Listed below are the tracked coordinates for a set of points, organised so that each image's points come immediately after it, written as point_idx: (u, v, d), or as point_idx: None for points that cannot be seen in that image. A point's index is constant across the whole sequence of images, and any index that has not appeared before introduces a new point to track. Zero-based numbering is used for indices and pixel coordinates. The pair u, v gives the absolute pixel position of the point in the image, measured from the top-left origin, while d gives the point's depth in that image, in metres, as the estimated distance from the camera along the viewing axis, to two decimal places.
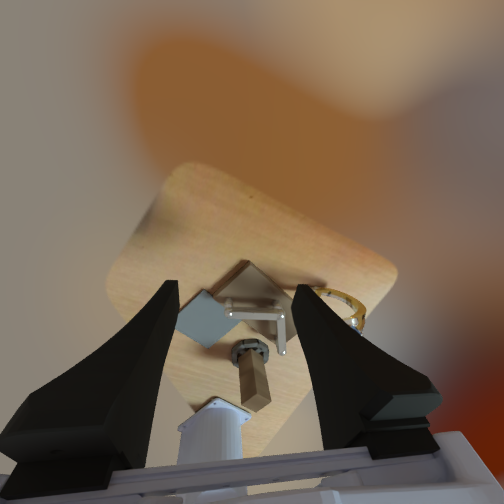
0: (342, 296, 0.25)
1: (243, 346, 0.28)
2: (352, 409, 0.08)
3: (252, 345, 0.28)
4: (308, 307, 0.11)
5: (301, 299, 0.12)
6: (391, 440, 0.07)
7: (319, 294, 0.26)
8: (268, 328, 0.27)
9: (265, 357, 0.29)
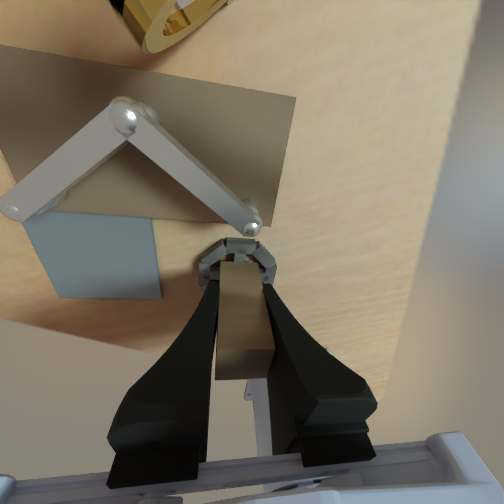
0: None
1: (204, 265, 0.13)
2: (290, 413, 0.07)
3: (217, 254, 0.13)
4: None
5: None
6: (324, 446, 0.06)
7: None
8: None
9: (266, 262, 0.14)
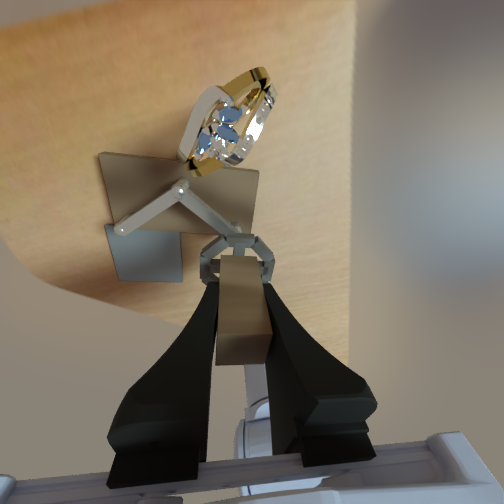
0: (250, 95, 0.13)
1: (205, 258, 0.14)
2: (290, 413, 0.07)
3: (218, 248, 0.13)
4: None
5: None
6: (324, 446, 0.06)
7: None
8: None
9: (264, 256, 0.14)
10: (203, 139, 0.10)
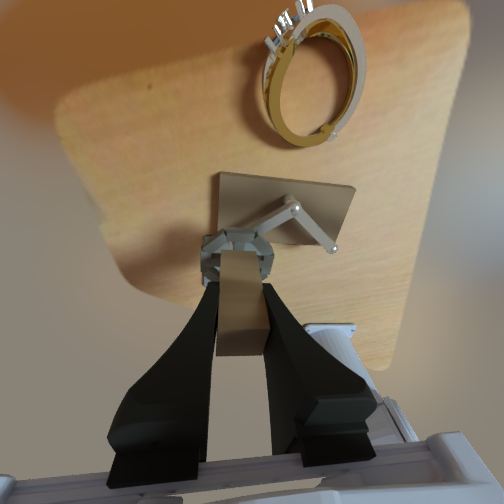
0: (349, 89, 0.15)
1: (205, 253, 0.14)
2: (290, 413, 0.07)
3: (218, 243, 0.14)
4: (266, 306, 0.11)
5: None
6: (324, 446, 0.06)
7: (327, 125, 0.16)
8: (303, 233, 0.21)
9: (264, 250, 0.15)
10: (276, 36, 0.12)
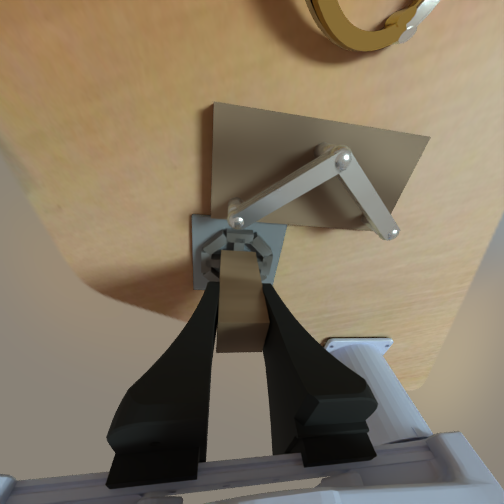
0: None
1: (206, 253, 0.14)
2: (290, 413, 0.07)
3: (218, 243, 0.14)
4: None
5: None
6: (325, 446, 0.06)
7: (402, 10, 0.09)
8: (340, 210, 0.14)
9: (263, 251, 0.15)
10: None
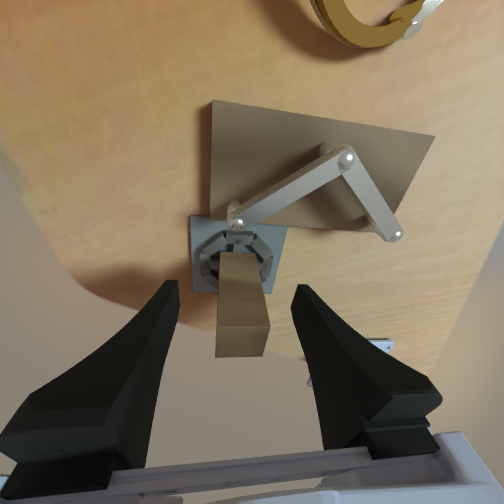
0: None
1: (205, 255, 0.14)
2: (352, 409, 0.08)
3: (217, 245, 0.14)
4: (308, 307, 0.11)
5: (301, 299, 0.12)
6: (391, 440, 0.07)
7: (408, 4, 0.09)
8: (342, 212, 0.13)
9: (263, 252, 0.15)
10: None
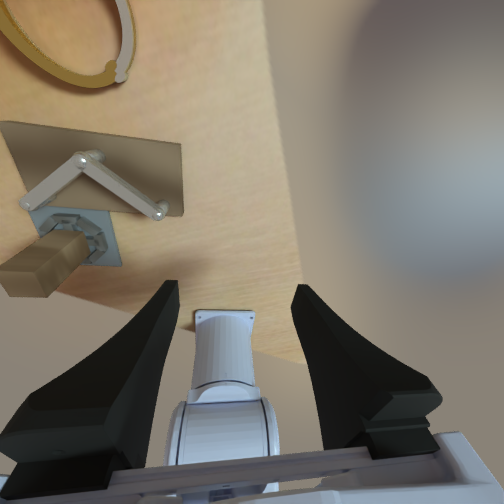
0: None
1: (43, 232, 0.19)
2: (352, 409, 0.08)
3: (49, 224, 0.19)
4: (308, 307, 0.11)
5: (301, 299, 0.12)
6: (391, 440, 0.07)
7: None
8: None
9: (90, 231, 0.19)
10: None
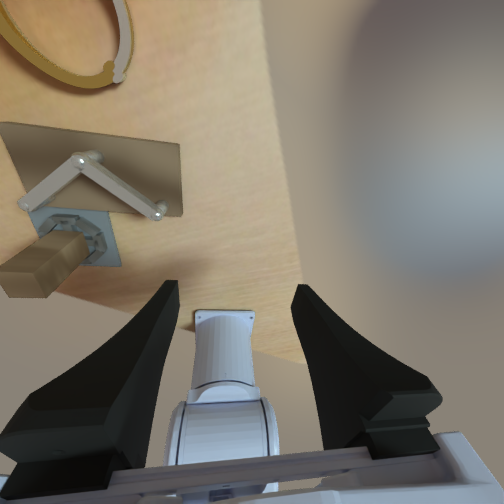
0: None
1: (42, 233, 0.19)
2: (352, 409, 0.08)
3: (48, 224, 0.19)
4: (308, 307, 0.11)
5: (301, 299, 0.12)
6: (391, 440, 0.07)
7: None
8: None
9: (89, 231, 0.19)
10: None
